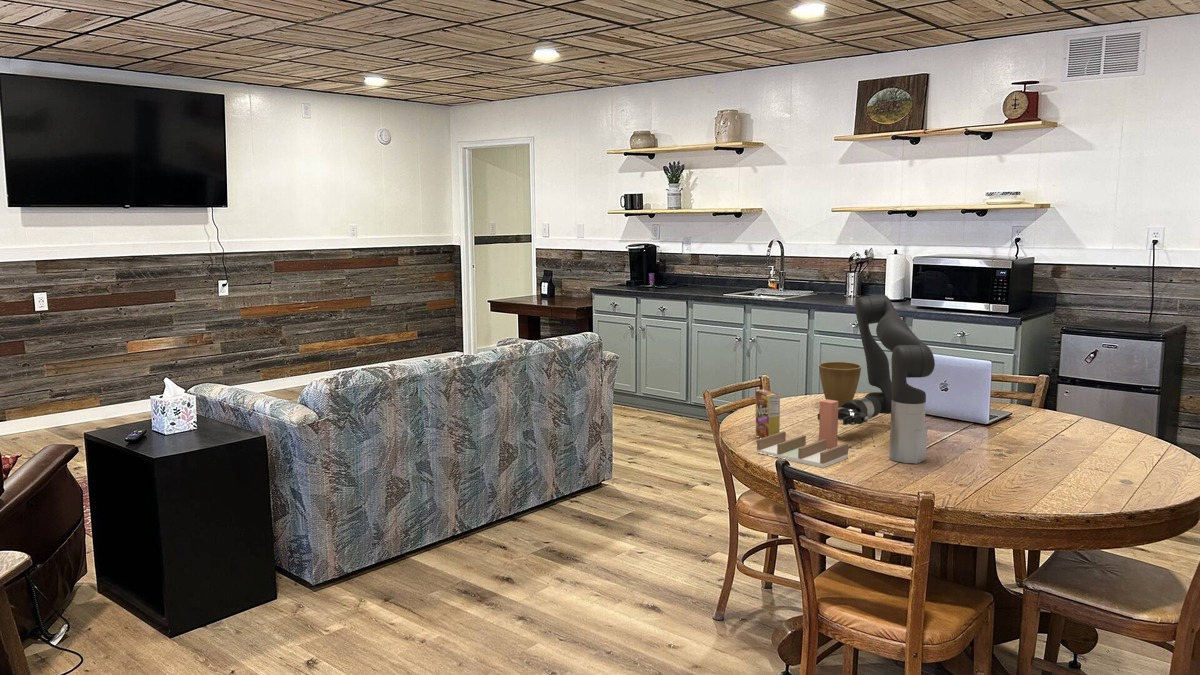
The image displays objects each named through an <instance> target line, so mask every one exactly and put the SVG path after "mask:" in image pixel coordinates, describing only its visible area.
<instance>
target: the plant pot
mask: <svg viewBox="0 0 1200 675" xmlns="http://www.w3.org/2000/svg"><path fill="white" fill-rule="evenodd" d="M818 368H819V376H820V382H821V387H822V390H823V396H824V398H825V399H824V400H826V399H828V400H835V401H839V403H838V408H841V406H842V405H843V404H844V403H845V402H848V401H851V400H854V398H855V394H856V391H857V389H858V387H859V386H858V385H859V381H860V377H861V372H862V365H861V364H859V363H855V362H846V361H826V362H822V363H821V362H820V363H819V364H818Z"/></svg>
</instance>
